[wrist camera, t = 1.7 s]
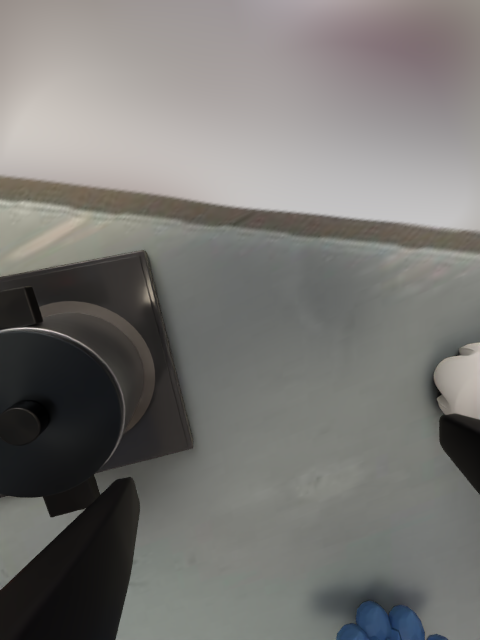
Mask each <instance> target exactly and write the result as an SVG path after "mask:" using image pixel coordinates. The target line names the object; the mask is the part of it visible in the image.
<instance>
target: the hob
mask: <svg viewBox="0 0 480 640" xmlns="http://www.w3.org/2000/svg"><path fill="white" fill-rule="evenodd" d="M26 286H32V287H33V290H34V293H35V296H36V299H37V302H38V306H39V309H40V312H41V315H42V318H44V317H47V316H51V315H55V314H61V313H81V314H87V315H92V316H95V317H98V318H101V319H103V320H105V321H107V322H109V323H111V324H112V325H114V326H115V327H117V328H118V329H119V330H121V331H122V332H123V333H124V334H125V335H126V336H127V337H128V338H129V339H130V341H131V342H132V343H133V345H134V346H135V348H136V350H137V352H138V354H139V356H140V359H141V362H142V366H143V371H144V385H143V390H142V395H141V397H140V400H139V402H138V405H137V407H136V409H135V411H134V413H133V415H132V417H131V419H130V421H129V423H128V426H127V428H126V430H125V432H124V434H123V436H122V438H121V440H120V442H119V444H118V446H117V448H116V450H115V451H114V453H113V454H112V456H111V457H110V458H109V460H108V461H107V462H106V463H105V464H104V465H103V466H102V467H101V468H100V469H99V470H98V471H97V472H96V473H98V472H102V471H106V470H110V469H114V468H118V467H122V466H126V465H129V464H133V463H137V462H141V461H145V460H149V459H153V458H157V457H161V456H164V455H168V454H172V453H176V452H180V451H184V450H188V449H192V448H193V437H192V433H191V429H190V425H189V421H188V417H187V413H186V409H185V405H184V401H183V397H182V393H181V389H180V385H179V381H178V377H177V373H176V369H175V365H174V361H173V357H172V353H171V349H170V345H169V341H168V337H167V333H166V329H165V325H164V321H163V317H162V313H161V309H160V305H159V301H158V297H157V293H156V289H155V285H154V281H153V277H152V273H151V269H150V265H149V261H148V257H147V253H146V251H144V250H140V251H135V252H130V253H125V254H119V255H114V256H109V257H104V258H98V259H93V260H88V261H83V262H77V263H72V264H67V265H62V266H56V267H51V268H46V269H40V270H35V271H30V272H25V273H19V274H14V275H9V276H4V277H0V291H4V290H9V289H14V288H20V287H26ZM5 496H7V495H3V494H0V498H1V497H5Z"/></svg>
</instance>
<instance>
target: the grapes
mask: <svg viewBox="0 0 480 640" xmlns="http://www.w3.org/2000/svg"><path fill="white" fill-rule="evenodd" d="M356 623H357V625H356V624H353V623H350V624H346V625H344V626H343V627H342V628H341V630H340V631H339V632H338V633H337V639H336V640H425V632H424V629H423V626H422V623H421V620H420V619H419V617H418V616H417V614H416V613H415V612H414V611H413V610H411V609H410V608H409V607H407V606H404V605H397V606H394V607H393V608H392V610H391V611H390V612H389V616H388V615H387V613H386V612H385V610H384V609H383V608H382V607H381V606H380V605H379V604H378V603H376V602H374V601H370V600H369V601H365V602H363V603H362V604H361V605H360V606H359V608H358V609H357V614H356ZM427 640H448V639H447V638H446V637H444V636H441V635H438V634H434V635H429V636H428V638H427Z"/></svg>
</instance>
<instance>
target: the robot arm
mask: <svg viewBox="0 0 480 640" xmlns="http://www.w3.org/2000/svg"><path fill="white" fill-rule="evenodd" d="M439 437H440V444H441V446H442V448H443V450H444V451H445V452H446V454H447V455H448V456H449V457H450V458H451V460H452V461H453V462H454V463H455V465H456V466H457V467H458V468H459V470H460V471H461V472H462V473H463V475H464V476H465V477H466V478H467V480H468V481H469V482H470V483H471V485H472V486H473V487H474V488H475V489H476V491H477V492H478V493H479V494H480V420H479V419H475V418H472V417H468V416H464V415H460V414H456V413H453V414H448V415H443V416H441V417H440V420H439ZM139 513H140V502H139V498H138V494H137V490H136V487H135V483H134V480H133V479H132V478H131V477H127V478H122V479H118V480H116V481H115V482H113V483H112V484H111V485H110V486H109V487H108V488H107V489H106V490H105V491H104V492H103V493H102V494H101V495H100V496H99V497H98V498H97V499H96V500H95V501H94V502H93V503H91V504H90V505H89V506H88V507H87V508H86V509H85V510H84V511H83V512H82V513H81V514H80V515H79V516H78V517H77V518H76V519H75V520H74V521H73V522H72V523H71V524H69V525H68V526H67V527H66V528H65V529H64V530H63V531H62V532H61V533H60V534H59V535H58V536H57V537H56V538H55V539H54V540H53V541H52V542H51V543H50V544H49V545H47V546H46V547H45V548H44V549H43V550H42V551H41V552H40V553H39V554H38V555H37V556H36V557H35V558H34V559H33V560H32V561H31V562H30V563H29V564H28V565H26V566H25V567H24V568H23V569H22V570H21V571H20V572H19V573H18V574H17V575H16V576H15V577H14V578H13V579H12V580H11V581H10V582H9V583H8V584H7V585H5V586H4V587H3V588H2V589H1V590H0V640H115V639H116V635H117V631H118V626H119V622H120V618H121V614H122V610H123V605H124V601H125V597H126V593H127V589H128V584H129V580H130V575H131V569H132V563H133V556H134V549H135V542H136V534H137V527H138V520H139Z"/></svg>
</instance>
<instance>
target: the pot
mask: <svg viewBox="0 0 480 640" xmlns="http://www.w3.org/2000/svg"><path fill="white" fill-rule="evenodd" d="M143 385H144V371H143V366H142V362H141V359H140V356H139V354H138V352H137V350H136V348H135V346H134V345H133V343H132V342H131V341H130V339H129V338H128V337H127V336H126V335H125V334H124V333H123V332H122V331H121V330H119V329H118V328H117V327H115V326H114V325H112V324H111V323H109V322H107V321H105V320H103V319H101V318H98V317H95V316H92V315H87V314H81V313H61V314H55V315H51V316H47V317H44V318H42V315H41V312H40V309H39V306H38V302H37V299H36V296H35V293H34V290H33V287H32V286H26V287H20V288H14V289H9V290H4V291H0V494H3V495H7V496H14V497H31V498H32V497H43V498H44V501H45V504H46V506H47V509H48V512H49V514H50V517H55V516H59V515H62V514H66V513H70V512H74V511H77V510H81V509H85V508H87V507H88V506H89V505H90V504H91V503H93V502H94V501H95V500H96V499H97V498H98V497H99V496H100V492H99V489H98V486H97V483H96V480H95V477H94V474H95V473H96V472H97V471H98V470H99V469H100V468H101V467H102V466H103V465H104V464H105V463H106V462H107V461H108V460H109V458H110V457H111V456H112V454H113V453H114V451H115V450H116V448H117V446H118V444H119V442H120V440H121V438H122V436H123V434H124V432H125V430H126V428H127V426H128V423H129V421H130V419H131V417H132V415H133V413H134V411H135V409H136V407H137V405H138V402H139V400H140V397H141V395H142V390H143Z"/></svg>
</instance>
